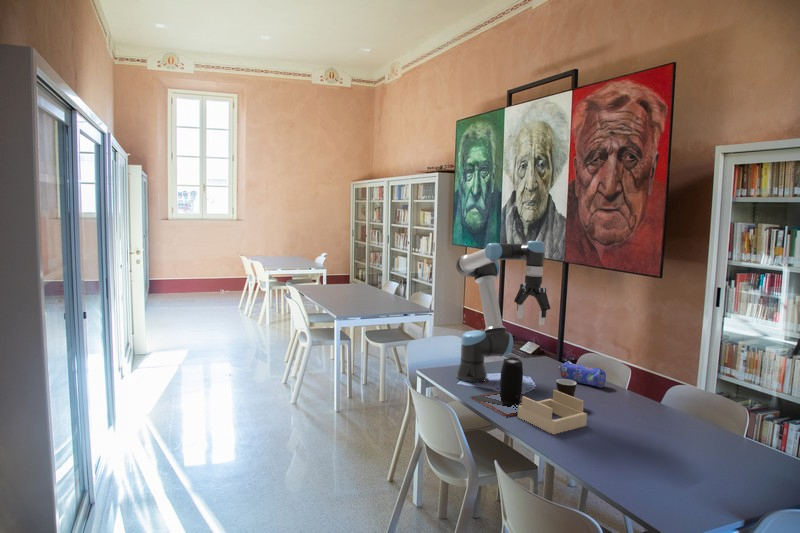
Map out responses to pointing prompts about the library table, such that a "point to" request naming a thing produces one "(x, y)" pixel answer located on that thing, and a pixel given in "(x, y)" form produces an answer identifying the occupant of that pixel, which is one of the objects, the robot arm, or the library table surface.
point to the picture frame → (484, 399)
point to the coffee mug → (566, 386)
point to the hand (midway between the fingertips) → (530, 321)
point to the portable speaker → (511, 381)
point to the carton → (560, 405)
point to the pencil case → (583, 374)
